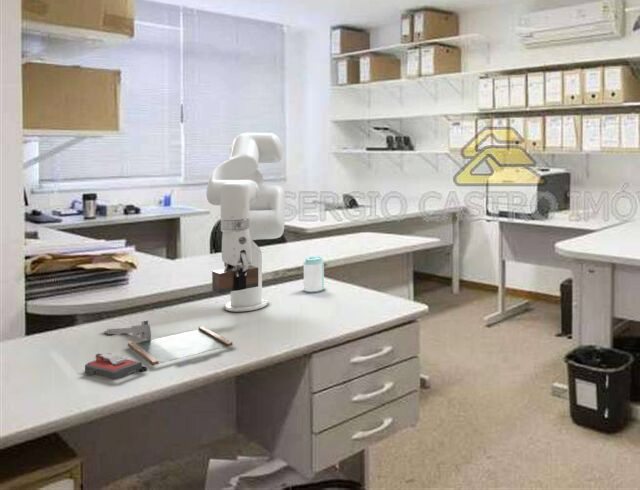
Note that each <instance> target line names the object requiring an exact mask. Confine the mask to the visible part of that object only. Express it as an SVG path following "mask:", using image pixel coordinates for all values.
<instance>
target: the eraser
mask: <svg viewBox="0 0 640 490" xmlns="http://www.w3.org/2000/svg"><path fill="white" fill-rule="evenodd" d="M240 268H241V267H239V268H238V271H239V269H240ZM246 272H247V275H246V289H248V288H253V287H258V267H255V266H252V265H249V267H248V269H247V271H246ZM211 277H212V278H211V287H212V291H213V292H215V293H217V294H226V293H230V292H231V291H235V290H234V277H235V269H234V268H228V269H225V268H223V269H222V268H221V269H216V270H212V271H211Z"/></svg>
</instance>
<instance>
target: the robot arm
mask: <svg viewBox="0 0 640 490" xmlns="http://www.w3.org/2000/svg"><path fill="white" fill-rule="evenodd" d="M283 157H284V147H283V143H282V141H281V139H280V137H279V136H278V135H277V134H275V133H272V132H243V133H240V134H238V135H237V136H236V137H235V138H234V139H233V142H232V143H231V144H230V147H229V159H227V160H225V161H223V162H222V163H220V164H218V165H217V166H216V167H215V168H214V169H213V170H212V171H211V173H210V175H209V179H208V183H207V186H206V193H205V194H206V195H205V196H206V199H207V201H208V203H209V204H210V205H213V206H220V231H221V232H222V234H221V261H222V263H224V269H228V268H234V269H235V277H234V290H235V291H231V292H229V293H230V294H229V295H230V301H229V302H227V303H225V305H224V307H225V310H226V311H229V312H235V313H236V312H237V313H238V312H239V313H240V312H241V313H243V312H251V311H257V310H260V309H262V308H265V307H266V306H267V305H268V300H267V299H265V298H263V253H262V250H261V248H260V247H259V246H258V245H257V244H256V242H254V241H257V240H274V239H278V238H281V237H282V236H283V235H284V231H285V224H286V223H285V221H286V194H285V190H284V188H282V186H280V185H277V184H264V175H263V174H262V173H261V171H259V169H258V167H259V164H276V163H279V162H281V161H282V158H283ZM249 265H252V266H255V267H258V287H253V288H248V289H246V275H247V272H246V271H247V269H248V267H249ZM239 267H241V268H240V269H239V271H238V268H239Z"/></svg>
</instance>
